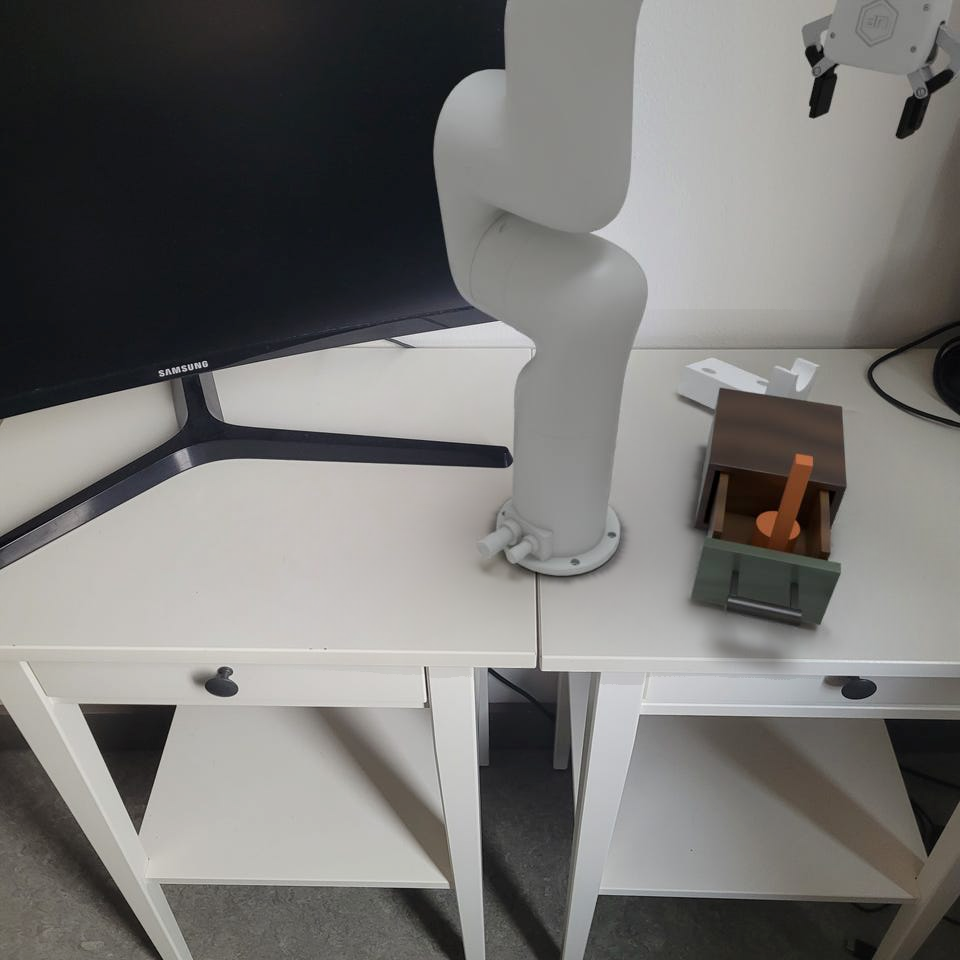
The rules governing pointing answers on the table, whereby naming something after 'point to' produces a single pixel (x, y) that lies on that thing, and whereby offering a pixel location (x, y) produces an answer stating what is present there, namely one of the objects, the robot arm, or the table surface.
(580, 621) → the table surface
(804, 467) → the scoop
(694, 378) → the bracket
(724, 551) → the drawer
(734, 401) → the cabinet
